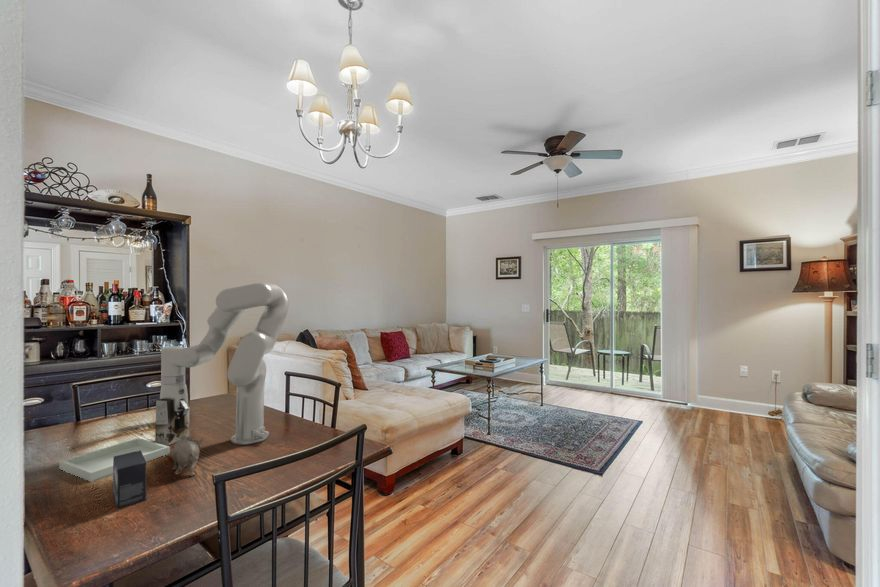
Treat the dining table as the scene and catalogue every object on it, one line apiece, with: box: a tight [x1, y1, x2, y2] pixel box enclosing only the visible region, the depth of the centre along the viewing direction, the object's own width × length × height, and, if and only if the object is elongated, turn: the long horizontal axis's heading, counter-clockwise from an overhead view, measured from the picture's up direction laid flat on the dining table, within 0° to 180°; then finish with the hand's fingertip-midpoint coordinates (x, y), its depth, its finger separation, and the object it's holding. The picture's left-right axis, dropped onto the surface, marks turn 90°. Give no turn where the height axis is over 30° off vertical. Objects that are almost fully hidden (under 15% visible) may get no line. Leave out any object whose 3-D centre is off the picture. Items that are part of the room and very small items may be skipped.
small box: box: [112, 450, 147, 509], centre depth 106 cm, size 11×6×10 cm, turn 45°
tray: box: [58, 437, 171, 483], centre depth 127 cm, size 18×22×3 cm
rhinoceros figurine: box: [170, 434, 204, 477], centre depth 123 cm, size 8×14×15 cm
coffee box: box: [154, 394, 191, 446], centre depth 146 cm, size 9×6×16 cm
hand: (172, 426), depth 146 cm, fingers closed on coffee box, 7 cm apart
